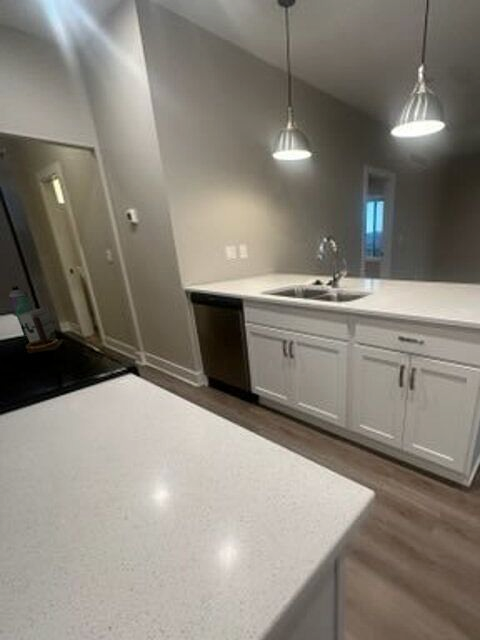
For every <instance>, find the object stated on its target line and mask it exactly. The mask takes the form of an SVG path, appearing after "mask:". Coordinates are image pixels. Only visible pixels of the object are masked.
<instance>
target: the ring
mask: <svg viewBox="0 0 480 640" xmlns="http://www.w3.org/2000/svg"><path fill="white" fill-rule="evenodd" d="M47 340H48V342H50V343H48V344H44V345H39V346H33V345H35V344H38V343H41V340H36V341H33V342H28V343H27V344H26V345H25V346H24V347H25V349H27V350H36V349H42V348H46V347H50V346H52V345H55V344H56V343H57V342H58V340H59V339H57V338H56V337H55V338H47Z"/></svg>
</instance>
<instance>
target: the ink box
mask: <svg viewBox="0 0 480 640" xmlns="http://www.w3.org/2000/svg"><path fill="white" fill-rule="evenodd" d="M19 317H20V319H21V322H22V324H23V327H24V329H25V332H26V334H27V337H26V338H27V339H28V341H29V342H28V343H30V342H33V341H36V340H40V338H39V335H38V332H37V329H36V327H35V324H34V321H33V318H36V317H40V320H41V323H42V326H43V329H44V331H45V334H46V337H47V338H55V339H56V338H57V337H58V336H57V333H56V331H55V328H54V325H53V323H52V319H51V316H50V314H49V311H48V308H46V307H44V308H34V309H32V311H29V312H26V313H23V314H20V315H19Z"/></svg>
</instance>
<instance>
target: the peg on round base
mask: <svg viewBox="0 0 480 640" xmlns="http://www.w3.org/2000/svg"><path fill="white" fill-rule="evenodd" d="M33 321H34V324H35V327H36V329H37V332H38V335H39V338H40V340H41V343H38V344H35V345H32V346H39V345H44V344H48V343H50V342H48V340H47V337H46V334H45V331H44V329H43V326H42V323H41V320H40V317H36V318H33ZM57 340H58V342H57V343H56V344H55V345H52V346H50V347H46V348H42V349H36V350H29V349H27V351H26V353H27V354H35V353H42V352H49V351H54V350H59V348H60V347H61V346H62V345H63V343H64V342H65V341H64V338H63V339H57Z"/></svg>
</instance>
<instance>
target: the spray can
mask: <svg viewBox="0 0 480 640" xmlns="http://www.w3.org/2000/svg"><path fill="white" fill-rule="evenodd" d="M11 288H12V289H11V291H10V292H8V297H9V300H10V302H11V305H12V307H13V310H14V313H15V315H16V318H17V320H18V323H19V326H20V329H21V332H22V333H23V336H24V337H25V336H27V334H26V332H25V329H24V327H23V324H22V322H21V319H20V317H19V315H20V314H23V313H26V312H29V311H32V310H33V307H32V306H31V302H30V300H29V297H28V294H27V292H26V291H25V290H22V289H21V288H19V287H18V285H14V286H11Z"/></svg>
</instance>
